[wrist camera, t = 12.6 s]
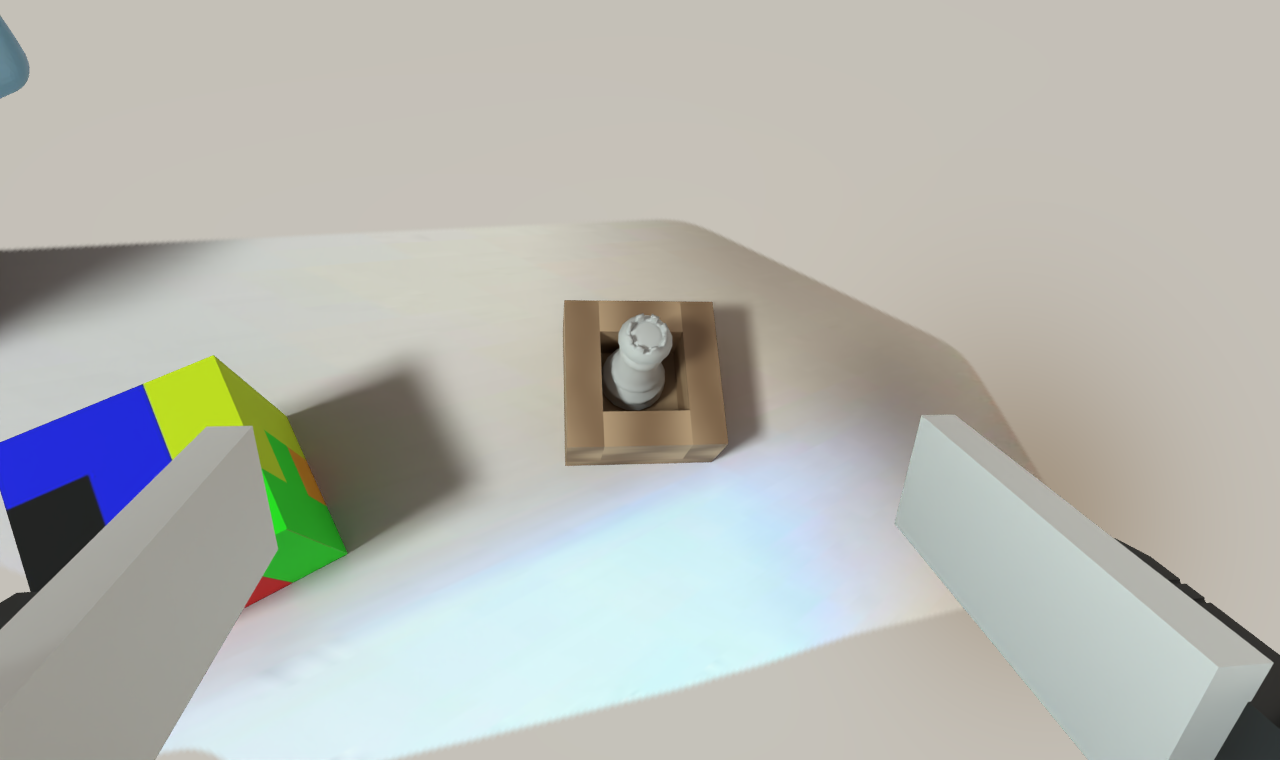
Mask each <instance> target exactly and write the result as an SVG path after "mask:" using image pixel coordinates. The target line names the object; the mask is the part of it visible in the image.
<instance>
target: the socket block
mask: <svg viewBox="0 0 1280 760" xmlns="http://www.w3.org/2000/svg"><path fill="white" fill-rule="evenodd" d="M642 313H644V315H649V316H651V315H652V314H654V315H656V316H659V319H660V320H661V321H662V322H663V323H666V325H667V327H668V328H669V330H670V333H671V335H672V348H671V350H670V352H669V355H668V356H667V357H665V358H664V359H663V360H662V362H661V363H662V365H663V367H664V370H665V384H664V388H663V390H662V393H661V395H660V397H659V399H658V400H657V401H655V402H654V403H653V404H652V405H651V406H650V407H647V408H644V409H641V410H625V409H623V408H620V407H618V406H616V405H614V404H613V403H612V402H611V401H610V400H609V399H608V398H607V397H606V396H605V395H604V392H603V390H602V372H601V370H602V368H603V366H604V363H605V361H606V359H607V357H608V356H610V355H611V354H612V353H613V352H614V351H616V350H617V349H618V348H620V346H619V343H618V335H619V331H620V329H621V327H622V325H623V324H624V323H625V322H626V321H627V320H629V319H630V318H632V317H635V316H636V315H639V314H642ZM563 359H564V416H565V466H576V465H615V464H654V463H693V462H712V461H713V460H714V459H715V458H716V457H717V456H718V455H719V454H720V452H721V451H722V450H723V449H724V448H725V447H726V446H727V445H728V436H727V427H726V419H725V410H724V401H723V392H722V383H721V374H720V365H719V356H718V347H717V338H716V329H715V320H714V311H713V302H670V301H577V300H564V320H563Z"/></svg>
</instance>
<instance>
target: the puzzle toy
mask: <svg viewBox="0 0 1280 760" xmlns="http://www.w3.org/2000/svg"><path fill="white" fill-rule="evenodd" d="M212 426H253V431H254V436H255V441H256V445H257V450H258V455H259V460H260V465H261V469H262V474H263V479H264V484H265V488H266V493H267V498H268V503H269V508H270V512H271V517H272V522H273V527H274V531H275V536H276V541H277V546H278V550H277V552H276V554H275V556H274V557H273V559H272V561H271V562H270V564H269V566H268V567H267V569H266V571H265V573H264V574H263V576H262V578H261V579H260V581H259V583H258V585H257V586H256V588H255V590H254V591H253V593H252V595H251V597H250V598H249V600H248V602H247V603H246V605H245V607H244V608H246V607H248V606H249V605H251V604H253V603H255V602H257V601H259V600H261V599H263V598H265V597H267V596H268V595H270V594H272V593H274V592H276V591H278V590H280V589H282V588H284V587H286V586H287V585H289V584H291V583H293V582H295V581H297V580H299V579H301V578H303V577H305V576H307V575H308V574H310V573H312V572H314V571H316V570H318V569H320V568H322V567H324V566H326V565H327V564H329V563H331V562H333V561H335V560H337V559H339V558H341V557H343V556H345V555H347V554H348V553H347V551H346V549H345V546H344V544H343V542H342V540H341V537H340V535H339V533H338V531H337V528H336V526H335V524H334V522H333V519H332V517H331V515H330V513H329V510H328V508H327V506H326V504H325V502H324V499H323V497H322V495H321V493H320V490H319V488H318V486H317V484H316V481H315V479H314V477H313V475H312V472H311V470H310V468H309V466H308V463H307V461H306V459H305V457H304V454H303V452H302V450H301V448H300V445H299V443H298V441H297V439H296V436H295V434H294V432H293V430H292V427H291V425H290V423H289V421H288V418H287V416H285V415H284V414H283V413H282V412H281V411H279V410H278V409H277V408H276V407H275V406H274V405H272V404H271V403H270V402H269V401H268V400H266V399H265V398H264V397H263V396H262V395H260V394H259V393H258V392H257V391H256V390H254V389H253V388H252V387H251V386H250V385H249V384H247V383H246V382H245V381H244V380H243V379H241V378H240V377H239V376H238V375H237V374H235V373H234V372H233V371H232V370H231V369H229V368H228V367H227V366H226V365H225V364H223V363H222V362H221V361H220V360H219V359H218V358H216V357H215V356H214V355H213V356H210V357H208V358H205V359H203V360H201V361H198V362H196V363H193V364H191V365H188V366H186V367H183V368H181V369H179V370H176V371H174V372H171V373H169V374H166V375H164V376H161V377H159V378H157V379H154V380H152V381H149V382H147V383H144V384H142V385H139V386H137V387H135V388H132V389H130V390H127V391H125V392H122V393H120V394H117V395H115V396H112V397H110V398H108V399H105V400H103V401H100V402H98V403H95V404H93V405H90V406H88V407H86V408H83V409H81V410H78V411H76V412H73V413H71V414H68V415H66V416H64V417H61V418H59V419H56V420H54V421H51V422H49V423H46V424H44V425H41V426H39V427H37V428H34V429H32V430H29V431H27V432H24V433H22V434H19V435H17V436H15V437H12V438H10V439H7V440H5V441H2V442H0V491H1V495H2V498H3V501H4V505H5V508H6V511H7V515H8V518H9V521H10V525H11V528H12V531H13V535H14V538H15V541H16V544H17V548H18V551H19V554H20V558H21V561H22V564H23V568H24V571H25V574H26V578H27V581H28V584H29V587H30V591H31V592H39V591H40V590H41V589H42V588H43V587H44V586H45V585H46V584H47V583H48V582H49V581H50V580H51V579H52V578H53V577H54V576H55V575H56V574H57V573H58V572H59V571H60V570H61V569H62V568H63V567H65V566H66V565H67V564H68V563H69V562H70V561H71V560H72V559H73V558H74V557H75V556H76V555H77V554H78V553H79V552H80V551H81V550H82V549H83V548H84V547H85V546H86V545H87V544H88V543H89V542H90V541H91V540H92V539H93V538H94V537H95V536H96V535H97V534H98V533H99V532H100V531H101V530H102V529H103V528H104V527H105V526H106V525H107V524H108V523H109V522H110V521H111V520H112V519H113V518H114V517H115V516H116V515H117V514H118V513H119V512H120V511H121V510H122V509H123V508H124V507H125V506H126V505H128V504H129V503H130V502H131V501H132V500H133V499H134V498H135V497H136V496H137V495H138V494H139V493H140V492H141V491H142V490H143V489H144V488H145V487H146V486H147V485H148V484H149V483H150V482H151V481H152V480H153V479H154V478H155V477H156V476H157V475H158V474H159V473H160V472H161V471H162V470H163V469H164V468H165V467H166V466H167V465H168V464H169V463H170V462H171V461H172V460H173V459H174V458H175V457H176V456H177V455H178V454H179V453H180V452H181V451H182V450H183V449H184V448H185V447H186V446H187V445H188V444H189V443H190V442H192V441H193V440H194V439H195V438H196V437H197V436H198V435H199V434H200V433H201V432H202V431H203V430H204V429H205V428H206V427H212Z"/></svg>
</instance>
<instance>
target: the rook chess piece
mask: <svg viewBox="0 0 1280 760" xmlns="http://www.w3.org/2000/svg"><path fill="white" fill-rule="evenodd" d="M618 343H619V346H620V348H618V349H617V350H616V351H614V352H613V353H612V354H611V355H610V356H608V357H607V359H606V361H605V363H604V366H603V368H602V370H601V372H602V390H603V392H604V395H605V396H606V397H607V398H608V399H609V400H610V401H611V402H612V403H613V404H614V405H616V406H618V407H620V408H623V409H625V410H641V409H644V408H647V407H650V406H651V405H652V404H653V403H654V402H655V401H657V400H658V399H659V397H660V395H661V393H662V390H663V388H664V384H665V370H664V367H663V365H662V363H661V362H662V360H663V359H664V358H665V357H667V356H668V355H669V352H670V350H671V348H672V335H671V333H670V330H669V328H668V327H667V325H666V323H663V322H662V321H661V320H660V319H659V316H656V315H654V314H652V315H651V316H649V315H644V313H642V314H639V315H636V316H635V317H632V318H630V319H629V320H627V321H626V322H625V323H624V324H623V325H622V327H621V329H620V331H619V335H618Z"/></svg>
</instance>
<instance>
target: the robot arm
mask: <svg viewBox="0 0 1280 760" xmlns="http://www.w3.org/2000/svg"><path fill="white" fill-rule="evenodd" d="M28 77H29V63H28V60H27V57H26V55H25V53H24V51H23V50H22V48H21V46H20V45H19V43H18V41H17V40H16V38H15V37H14V35H13V34H12V32H11V30H10V29H9V28H8V26H7V25H6V23H5V22H4V20H3V19H2V17H1V16H0V98H2V97H4V96H7V95H9V94H11V93H14V92H16V91H18V90H19V89H20V88H22V87H23V86H24V85H25V83H26V82H27V80H28ZM895 525H896V526H897V527H898V528H899V530H900V531H901V532H902V533H903V534H904V536H905V537H906V538H907V539H908V541H909V542H910V543H911V544H912V545H913V547H914V548H915V549H916V550H917V552H918V553H919V554H920V555H921V556H922V558H923V559H924V560H925V561H926V563H927V564H928V565H929V566H930V567H931V569H932V570H933V571H934V572H935V574H936V575H937V576H938V577H939V578H940V580H941V581H942V582H943V583H944V585H945V586H946V587H947V588H948V589H949V591H950V592H951V593H952V594H953V596H954V597H955V598H956V599H957V600H958V602H959V603H960V604H961V605H962V607H963V608H964V609H965V610H966V611H967V613H968V614H969V615H970V616H971V618H972V619H973V620H974V621H975V622H976V624H977V625H978V626H979V627H980V629H982V631H983V632H984V633H985V635H986V636H987V637H988V638H989V640H990V641H991V642H992V643H993V645H994V646H995V647H996V648H997V649H998V651H999V652H1000V653H1001V654H1002V655H1003V657H1004V658H1005V659H1006V660H1007V662H1008V663H1009V664H1010V665H1011V666H1012V668H1013V669H1014V670H1015V671H1016V673H1017V674H1018V675H1019V676H1020V677H1021V679H1022V680H1023V681H1024V682H1025V684H1026V685H1027V686H1028V687H1029V688H1030V690H1031V691H1032V692H1033V693H1034V695H1035V696H1036V697H1037V698H1038V700H1039V701H1040V702H1041V703H1042V704H1043V705H1044V707H1045V708H1046V709H1047V710H1048V712H1049V713H1050V714H1051V715H1052V717H1053V718H1054V719H1055V720H1056V722H1057V723H1058V724H1059V725H1060V726H1061V728H1062V729H1063V730H1064V731H1065V733H1066V734H1067V735H1068V736H1069V737H1070V739H1071V740H1072V741H1073V742H1074V743H1075V745H1076V746H1077V747H1078V748H1079V750H1080V751H1081V752H1082V753H1083V754H1084V756H1085V757H1086V758H1087V759H1088V760H1280V655H1279V654H1278V653H1276V652H1275V651H1274V650H1272V649H1271V648H1270V647H1268V646H1267V645H1265V644H1264V643H1263V642H1262V641H1260V640H1259V639H1258V638H1257V637H1255V636H1254V635H1253V634H1251V633H1250V632H1249V631H1247V630H1246V629H1245V628H1243V627H1242V626H1241V625H1239V624H1238V623H1237V622H1235V621H1234V620H1233V619H1231V618H1230V617H1229V616H1228V615H1226V614H1225V613H1224V612H1222V611H1221V610H1220V609H1218V608H1217V607H1216V606H1214V605H1213V604H1212V603H1206V602H1205V600H1204V597H1203V596H1201V595H1200V594H1199V593H1197V592H1196V591H1195V590H1193V589H1192V588H1191V587H1189V586H1188V585H1187V584H1181V583H1180V579H1179V578H1178V577H1176V576H1175V575H1174V574H1172V573H1171V572H1170V571H1169V570H1167V569H1166V568H1165V567H1163V566H1162V565H1161V564H1159V563H1158V562H1157V561H1155V560H1154V559H1153V558H1151V557H1150V556H1148V555H1146V554H1144V553H1142V552H1140V551H1139V550H1137V549H1135V548H1133V547H1131V546H1129V545H1127V544H1125V543H1123V542H1121V541H1119V540H1117V539H1116V538H1113V537H1111V536H1110V535H1109V534H1108V533H1106V532H1105V531H1104V530H1103V529H1101V528H1100V527H1099V526H1097V525H1096V524H1095V523H1094V522H1092V521H1091V520H1090V519H1088V518H1087V517H1086V516H1084V515H1083V514H1082V513H1081V512H1079V511H1078V510H1077V509H1076V508H1074V507H1073V506H1072V505H1070V504H1069V503H1068V502H1067V501H1065V500H1064V499H1062V498H1061V497H1060V496H1059V495H1058V494H1056V493H1055V492H1054V491H1052V490H1051V489H1050V488H1049V487H1047V486H1046V485H1045V484H1043V483H1042V482H1041V481H1040V480H1038V479H1037V478H1036V477H1034V476H1033V475H1032V474H1031V473H1029V472H1028V471H1027V470H1025V469H1024V468H1023V467H1022V466H1020V465H1019V464H1018V463H1016V462H1015V461H1014V460H1013V459H1011V458H1010V457H1009V456H1007V455H1006V454H1005V453H1004V452H1002V451H1001V450H1000V449H998V448H997V447H996V446H995V445H993V444H992V443H991V442H989V441H988V440H987V439H986V438H984V437H983V436H982V435H980V434H979V433H978V432H977V431H975V430H974V429H973V428H971V427H970V426H969V425H968V424H966V423H965V422H964V421H962V420H961V419H960V418H959V417H957V416H956V415H921V419H920V423H919V427H918V431H917V435H916V439H915V443H914V447H913V451H912V455H911V459H910V463H909V467H908V471H907V475H906V479H905V483H904V487H903V491H902V495H901V499H900V503H899V507H898V511H897V515H896V519H895ZM277 550H278V546H277V541H276V536H275V531H274V527H273V522H272V517H271V512H270V508H269V503H268V498H267V493H266V488H265V484H264V479H263V474H262V469H261V465H260V460H259V455H258V450H257V445H256V441H255V436H254V431H253V426H212V427H206V428H205V429H204V430H203V431H202V432H201V433H200V434H199V435H198V436H197V437H196V438H195V439H194V440H193V441H192V442H190V443H189V444H188V445H187V446H186V447H185V448H184V449H183V450H182V451H181V452H180V453H179V454H178V455H177V456H176V457H175V458H174V459H173V460H172V461H171V462H170V463H169V464H168V465H167V466H166V467H165V468H164V469H163V470H162V471H161V472H160V473H159V474H158V475H157V476H156V477H155V478H154V479H153V480H152V481H151V482H150V483H149V484H148V485H147V486H146V487H145V488H144V489H143V490H142V491H141V492H140V493H139V494H138V495H137V496H136V497H135V498H134V499H133V500H132V501H131V502H130V503H129V504H128V505H126V506H125V507H124V508H123V509H122V510H121V511H120V512H119V513H118V514H117V515H116V516H115V517H114V518H113V519H112V520H111V521H110V522H109V523H108V524H107V525H106V526H105V527H104V528H103V529H102V530H101V531H100V532H99V533H98V534H97V535H96V536H95V537H94V538H93V539H92V540H91V541H90V542H89V543H88V544H87V545H86V546H85V547H84V548H83V549H82V550H81V551H80V552H79V553H78V554H77V555H76V556H75V557H74V558H73V559H72V560H71V561H70V562H69V563H68V564H67V565H66V566H65V567H63V568H62V569H61V570H60V571H59V572H58V573H57V574H56V575H55V576H54V577H53V578H52V579H51V580H50V581H49V582H48V583H47V584H46V585H45V586H44V587H43V588H42V589H41V590H40V591H39V592H24V593H16V594H14V595H13V596H11V597H9V598H8V599H6V600H4V601H3V602H1V603H0V760H155V759H156V757H157V756H158V754H159V752H160V751H161V749H162V747H163V745H164V744H165V742H166V740H167V739H168V737H169V735H170V733H171V732H172V730H173V728H174V727H175V725H176V723H177V721H178V720H179V718H180V716H181V715H182V713H183V711H184V710H185V708H186V706H187V704H188V703H189V701H190V699H191V698H192V696H193V694H194V692H195V691H196V689H197V687H198V686H199V684H200V682H201V680H202V679H203V677H204V675H205V674H206V672H207V670H208V668H209V667H210V665H211V663H212V662H213V660H214V658H215V656H216V655H217V653H218V651H219V650H220V648H221V646H222V644H223V643H224V641H225V639H226V638H227V636H228V634H229V633H230V631H231V629H232V627H233V626H234V624H235V622H236V621H237V619H238V617H239V615H240V614H241V612H242V610H243V609H244V607H245V605H246V603H247V602H248V600H249V598H250V597H251V595H252V593H253V591H254V590H255V588H256V586H257V585H258V583H259V581H260V579H261V578H262V576H263V574H264V573H265V571H266V569H267V567H268V566H269V564H270V562H271V561H272V559H273V557H274V556H275V554H276V552H277Z"/></svg>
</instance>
